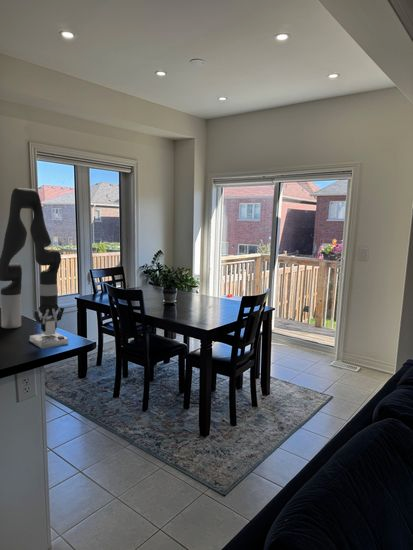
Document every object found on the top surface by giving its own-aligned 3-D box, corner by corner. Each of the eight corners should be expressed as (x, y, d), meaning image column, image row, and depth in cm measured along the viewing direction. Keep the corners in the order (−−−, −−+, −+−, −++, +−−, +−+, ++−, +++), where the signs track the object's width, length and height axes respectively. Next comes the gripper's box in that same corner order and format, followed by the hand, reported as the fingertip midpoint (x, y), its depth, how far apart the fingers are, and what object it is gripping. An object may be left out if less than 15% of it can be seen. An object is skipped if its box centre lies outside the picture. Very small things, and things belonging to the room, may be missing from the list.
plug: (42, 333, 174) (42, 318, 173) (51, 331, 176) (51, 317, 176) (46, 335, 171) (46, 320, 170) (55, 333, 174) (55, 318, 173)
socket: (29, 341, 175) (29, 334, 175) (55, 336, 183) (55, 330, 183) (41, 348, 165) (41, 341, 165) (68, 343, 173) (68, 337, 173)
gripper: (60, 291, 179) (60, 326, 181) (29, 293, 169) (29, 331, 171) (67, 293, 174) (67, 330, 176) (35, 296, 164) (36, 335, 166)
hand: (48, 330), depth 173 cm, fingers closed on plug, 4 cm apart
